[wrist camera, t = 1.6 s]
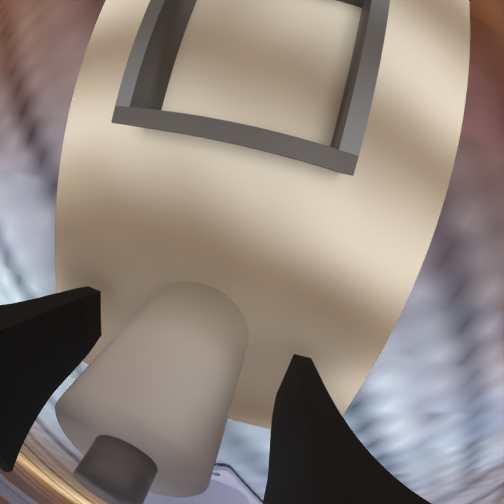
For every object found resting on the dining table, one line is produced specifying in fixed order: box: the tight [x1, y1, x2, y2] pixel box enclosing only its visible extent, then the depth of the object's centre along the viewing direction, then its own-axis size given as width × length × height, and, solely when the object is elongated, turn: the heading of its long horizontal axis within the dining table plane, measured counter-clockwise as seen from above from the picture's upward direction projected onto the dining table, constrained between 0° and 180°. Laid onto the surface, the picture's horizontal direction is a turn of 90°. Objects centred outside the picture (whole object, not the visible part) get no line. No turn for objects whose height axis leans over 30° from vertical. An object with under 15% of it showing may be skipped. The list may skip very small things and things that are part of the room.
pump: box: [55, 282, 249, 504], centre depth 7 cm, size 4×4×7 cm
